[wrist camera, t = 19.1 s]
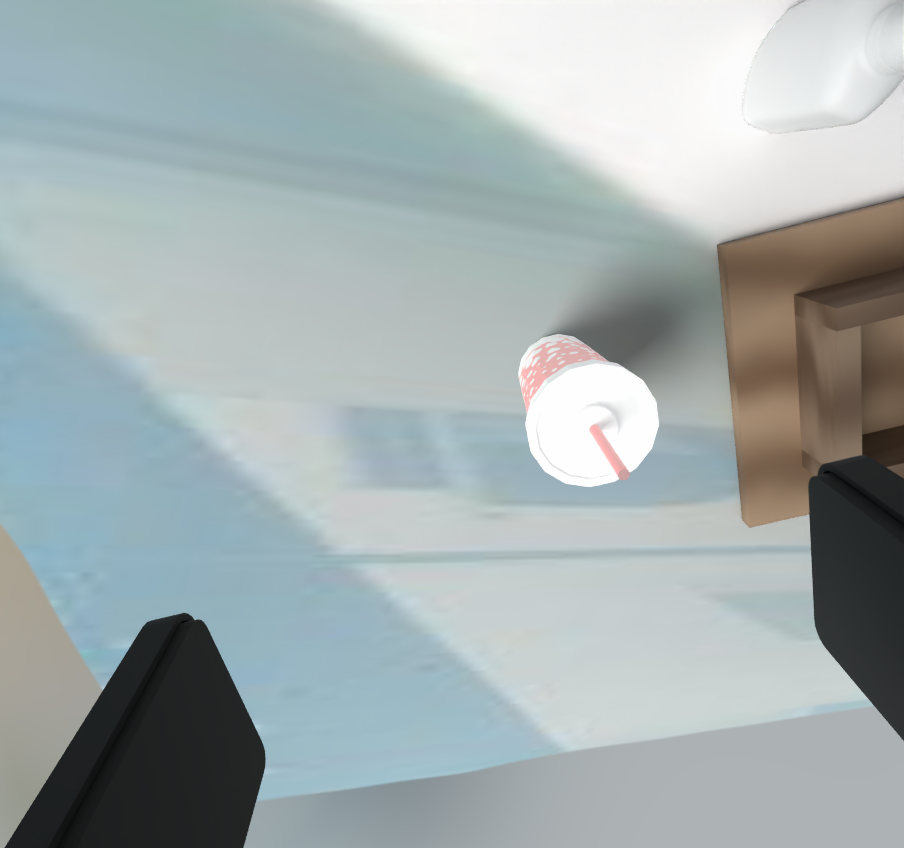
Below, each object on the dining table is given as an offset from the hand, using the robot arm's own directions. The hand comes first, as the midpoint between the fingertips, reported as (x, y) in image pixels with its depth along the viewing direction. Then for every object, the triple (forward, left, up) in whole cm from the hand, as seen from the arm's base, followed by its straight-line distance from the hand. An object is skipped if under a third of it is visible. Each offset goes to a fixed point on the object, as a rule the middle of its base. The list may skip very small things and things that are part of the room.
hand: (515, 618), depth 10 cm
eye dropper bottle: (-7, +19, -28) cm, 35 cm away
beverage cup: (+6, +5, -28) cm, 30 cm away
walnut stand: (+10, +24, -28) cm, 38 cm away
